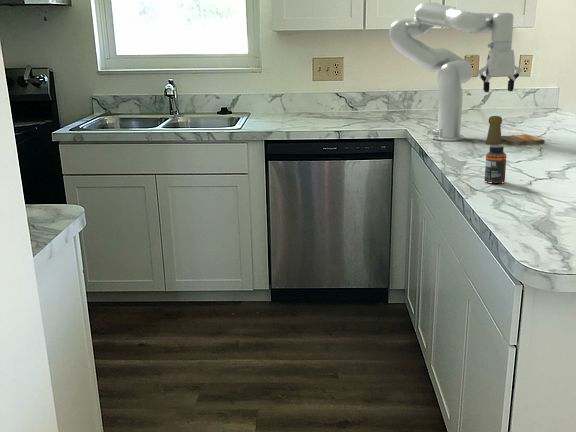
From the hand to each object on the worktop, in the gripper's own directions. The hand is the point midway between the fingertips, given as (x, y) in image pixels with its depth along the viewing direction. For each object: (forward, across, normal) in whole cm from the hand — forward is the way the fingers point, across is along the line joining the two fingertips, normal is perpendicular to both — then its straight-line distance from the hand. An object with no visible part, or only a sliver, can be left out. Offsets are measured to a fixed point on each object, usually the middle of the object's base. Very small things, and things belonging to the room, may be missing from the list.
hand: (498, 91), depth 245 cm
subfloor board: (+21, +11, +1) cm, 24 cm away
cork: (+21, 0, 0) cm, 21 cm away
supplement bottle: (+21, -27, -60) cm, 69 cm away
